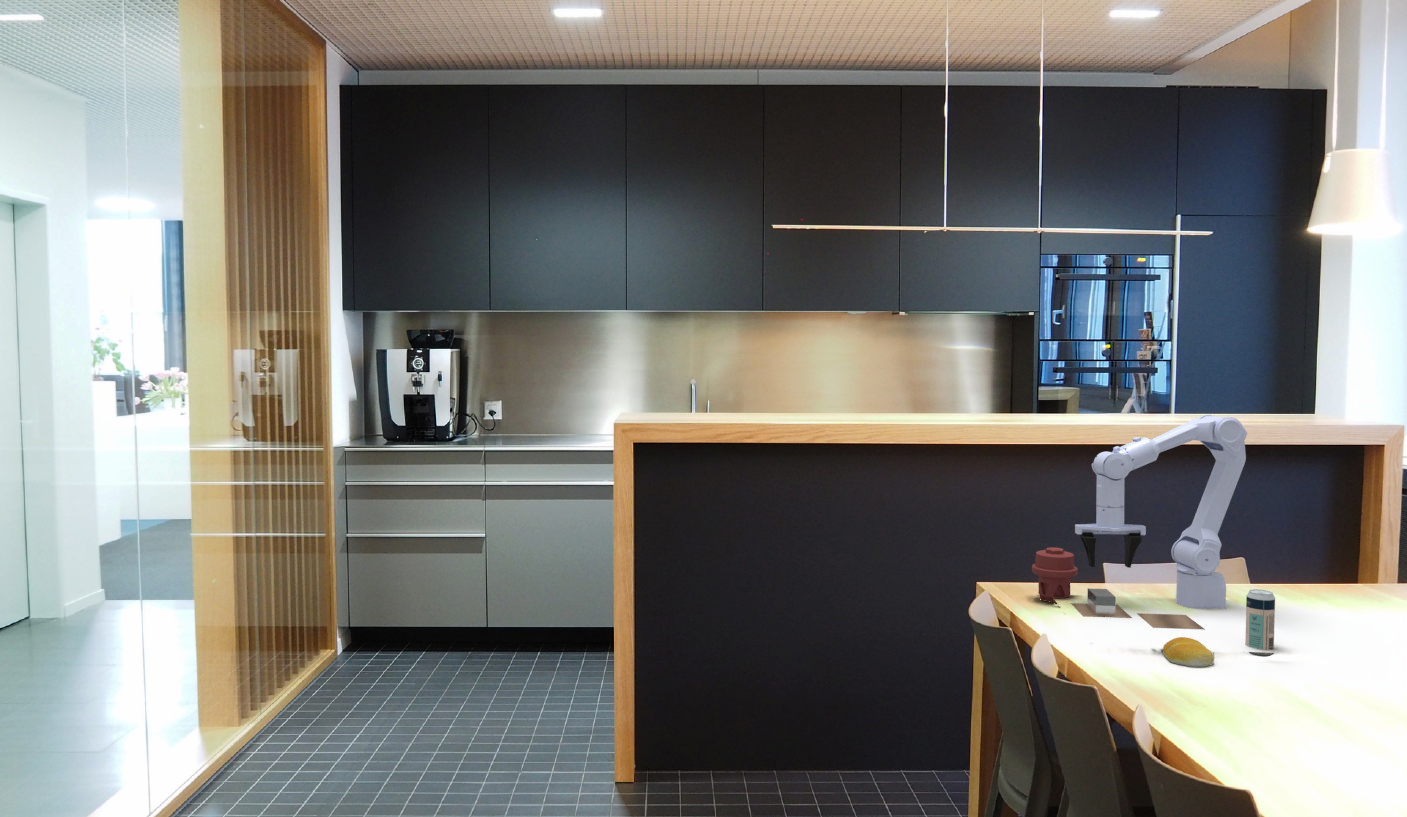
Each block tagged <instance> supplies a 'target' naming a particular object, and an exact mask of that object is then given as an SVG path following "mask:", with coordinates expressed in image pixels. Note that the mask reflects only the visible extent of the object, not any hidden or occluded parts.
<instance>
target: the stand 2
mask: <svg viewBox="0 0 1407 817" xmlns="http://www.w3.org/2000/svg"><path fill="white" fill-rule="evenodd" d="M1136 615H1138V616H1139V617H1140V618H1141V619H1142V620H1144V621H1145V623H1147V624H1149V626H1150V627H1152V628H1154V629H1155V628H1156V629H1181V630H1206V629H1205V628H1204V627H1203V626H1202V625H1200V624H1199V623H1198V622H1196V621H1195V620H1193V619H1192V618H1191V617H1189V616H1188V615H1187V614H1175V613H1174V614H1172V613H1171V614H1169V613H1145V612H1144V613H1140V612H1139V613H1138V612H1137V613H1136Z"/></svg>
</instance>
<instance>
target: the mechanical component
mask: <svg viewBox="0 0 1407 817" xmlns="http://www.w3.org/2000/svg"><path fill="white" fill-rule="evenodd" d="M1074 562H1075V555H1074V553H1072V552H1069V551H1065V549H1064V548H1061V547H1056V546H1055V547H1051V546H1050V547H1046V549H1042V550H1037V551H1036V552H1035V563H1033V564H1032V566H1031V572H1032V573H1033V574H1034V575H1036V576H1038V585H1037V586H1038V587H1037V588H1038V592H1037V593H1038V595H1039V598H1038V599H1039V600H1040V599H1041V600H1040V601H1044V600H1045V602H1048V601H1050V602H1049V603H1053V604H1054V605H1057V604H1058V602H1056V600H1055V599H1059V600H1060V599H1066V598H1069V597H1071V580H1072V578H1075V577H1076V576H1078V574H1079V573H1078V570H1079V568H1078V567H1077V566H1075V563H1074Z"/></svg>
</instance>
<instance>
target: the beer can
mask: <svg viewBox="0 0 1407 817" xmlns="http://www.w3.org/2000/svg"><path fill="white" fill-rule="evenodd" d="M1245 603H1246V604H1245V606H1246V608H1245V609H1246V610H1245V640H1244V641H1245V644H1244V645H1245V646H1246V647H1248V648H1251V649H1255V650H1260V651H1248V654H1250V655H1253V656H1255V657H1265V658H1266V657H1270V656H1272V655H1274V654H1275V652H1265V651H1269V650H1274V649H1275V618H1276V617H1275V615H1276V613H1275V612H1276V597H1275V595H1274V593H1273V592H1272V591H1270V590H1265V589H1257V588H1256V589H1249V591H1248V592H1247V593H1246V602H1245ZM1261 650H1264V652H1263V651H1262V652H1261Z"/></svg>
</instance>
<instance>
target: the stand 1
mask: <svg viewBox="0 0 1407 817" xmlns="http://www.w3.org/2000/svg"><path fill="white" fill-rule="evenodd" d="M1070 604H1071V605H1072V606H1073V607H1074V609H1076V611H1077V612H1078V613H1079V615H1081V616H1082V617H1087V618H1091V617H1092V618H1115V619H1116V618H1118V619H1119V618H1120V619H1133V617H1132V616H1131V615H1130V614H1129V613H1128V612H1127V611H1125V610H1124V609H1123V608H1122V607H1121V606H1120V605H1118V604H1115V615H1096V614H1095V613H1094V612H1093V611H1092V610H1091V609H1090V608H1089V607H1088V606H1087V603H1076V602H1071V603H1070Z"/></svg>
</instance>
